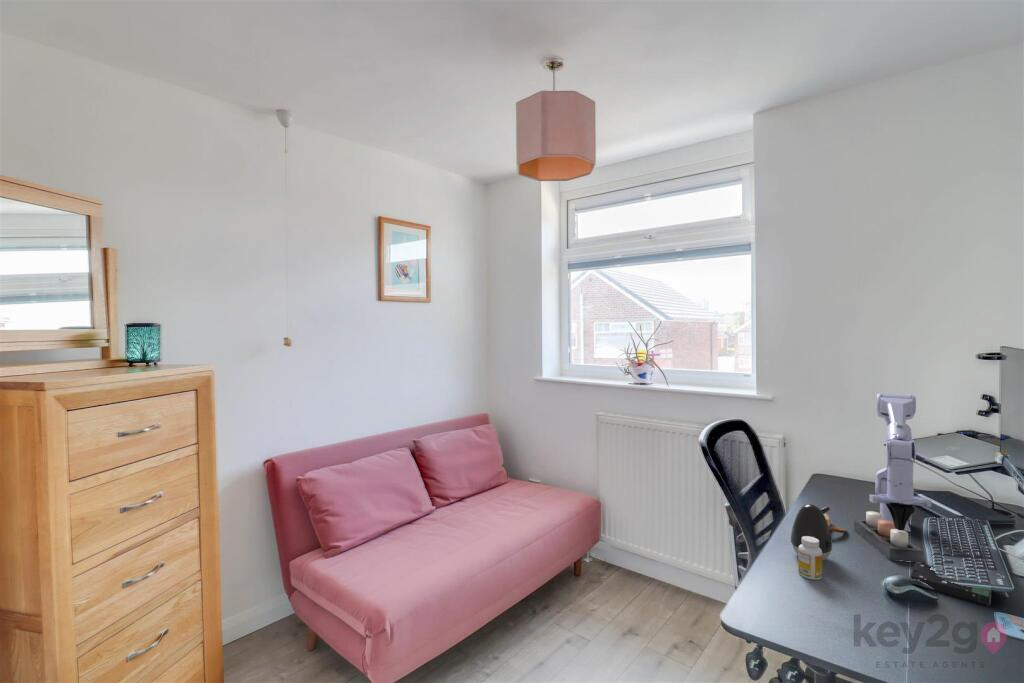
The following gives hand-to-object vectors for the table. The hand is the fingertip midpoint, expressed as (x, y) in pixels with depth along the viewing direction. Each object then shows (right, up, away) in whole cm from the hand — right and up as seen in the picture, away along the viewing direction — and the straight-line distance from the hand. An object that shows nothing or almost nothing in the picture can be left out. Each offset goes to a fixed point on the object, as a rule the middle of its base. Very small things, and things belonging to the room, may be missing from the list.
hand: (899, 529), depth 139 cm
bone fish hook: (-9, -8, +17) cm, 21 cm away
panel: (+1, -8, +7) cm, 10 cm away
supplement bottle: (-32, -9, -10) cm, 34 cm away
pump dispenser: (-25, -8, 0) cm, 26 cm away
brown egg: (+1, -5, +7) cm, 8 cm away
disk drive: (0, -9, -16) cm, 18 cm away
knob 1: (+3, -4, +14) cm, 15 cm away
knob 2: (0, -5, 0) cm, 5 cm away
